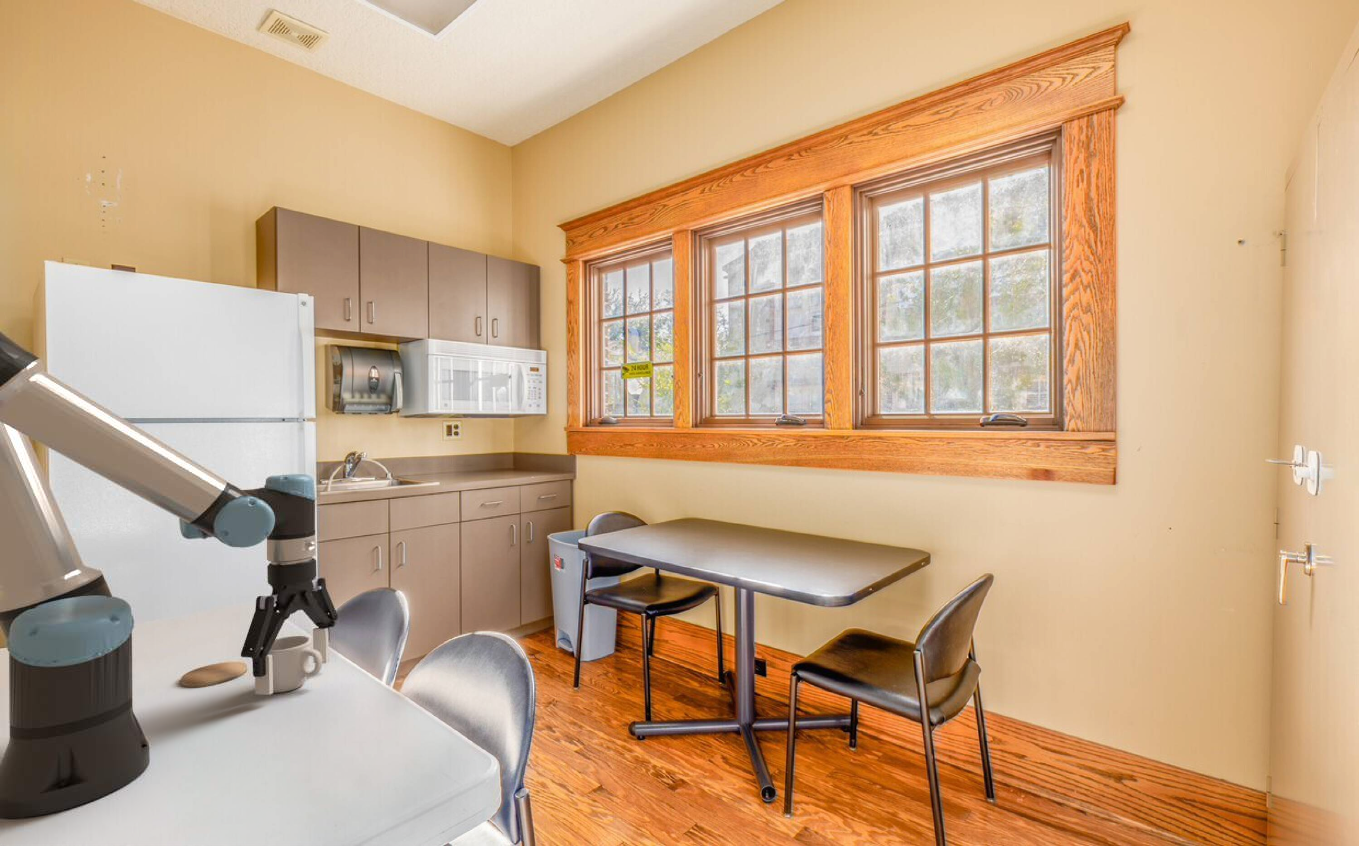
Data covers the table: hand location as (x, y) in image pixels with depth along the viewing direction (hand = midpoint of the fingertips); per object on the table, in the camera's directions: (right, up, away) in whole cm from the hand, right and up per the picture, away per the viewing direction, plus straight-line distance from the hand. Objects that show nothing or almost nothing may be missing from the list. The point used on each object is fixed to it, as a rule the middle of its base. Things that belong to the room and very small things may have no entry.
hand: (294, 677), depth 112 cm
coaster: (-19, -2, +5) cm, 19 cm away
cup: (0, -2, 0) cm, 2 cm away
